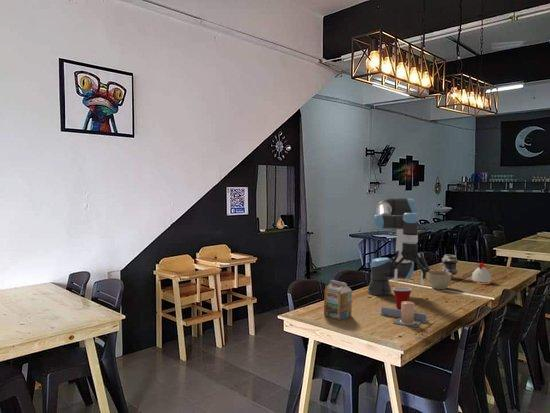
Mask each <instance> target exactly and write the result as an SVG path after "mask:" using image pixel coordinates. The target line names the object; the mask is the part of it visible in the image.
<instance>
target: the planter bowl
mask: <svg viewBox="0 0 550 413" xmlns="http://www.w3.org/2000/svg"><path fill="white" fill-rule="evenodd" d="M426 275H427V279H428V282H429V284H430V285H431V288H433V289H437V290H446V289H447V288H448V286H449V285H450V282H451V280H452V279H451V275H452V274H451V273H449V272H445V271H441V270H430V271H429V272H426ZM452 276H453V275H452Z"/></svg>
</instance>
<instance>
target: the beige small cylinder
mask: <svg viewBox="0 0 550 413" xmlns="http://www.w3.org/2000/svg"><path fill="white" fill-rule="evenodd" d="M400 310H401V322H402V323H406V324H412V323H414V312H415V302H413V301H410V300H409V301H403V302H401V309H400Z"/></svg>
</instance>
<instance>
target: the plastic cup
mask: <svg viewBox="0 0 550 413" xmlns="http://www.w3.org/2000/svg"><path fill="white" fill-rule="evenodd" d="M392 290H393V292H394V293H393V294H394V300H395V304H396V309H399V310H401V302H403V301H410V297H411V293H412V290H413V289H412V287H407V286H397V287H396V286H394V287H393V288H392Z"/></svg>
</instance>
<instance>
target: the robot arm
mask: <svg viewBox="0 0 550 413" xmlns="http://www.w3.org/2000/svg"><path fill="white" fill-rule="evenodd" d="M375 213H376V214H374V218H373V219H374V220H373V226H374V228H375V229H385V230H386V229H391V230H394V229H395V230H396V238H395V239H396V240H395V241H396V242H395V243H396V244H395V255H394V256H393V257H392V258H393V259H392V260H391V259H390V258H389V257H378V258H377V257H376V258H374V259H372V260H371V265H370V267H371V269H370V270H371V272H370V283H369V285H368V288H367V293H368V294H370V295H372V296H373V295H374V296H379V297H381V296H382V297H384V296H391V295H392V288H391V285H390V279H394V282H395V283H396V282H397V281H398V280H411V279H412V277H413V274H414V268H415V264H416V266H417V267H418V268H419V269H420V271H421V273H420V286H423V285H424V282H425V281H424V280H425V279H426V278H427V272H429V271H431V269H430V266H429V265H428V263H427V261H426V258H425V253H424V252H420V253H419V252H418V249H419V248H418V245H419V244H418V242H419V221H420V220H419V213H418V212H417V204H416V200H415V199H414V198H408V197H407V198H405V197H403V198H399V197H396V198H394V197H393V198H392V197H388V198H385V199H382V200H381V201H379V202H377V204H376V206H375ZM417 257H419V258H420V260H421V262H422V263H421V262H420V261H419V259H418V258H417Z"/></svg>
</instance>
